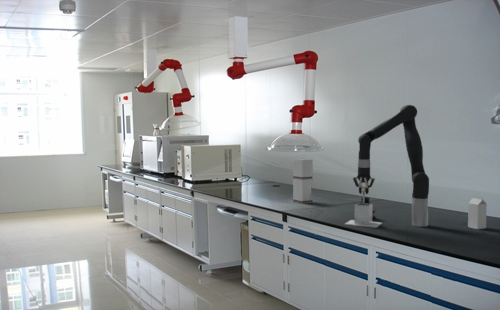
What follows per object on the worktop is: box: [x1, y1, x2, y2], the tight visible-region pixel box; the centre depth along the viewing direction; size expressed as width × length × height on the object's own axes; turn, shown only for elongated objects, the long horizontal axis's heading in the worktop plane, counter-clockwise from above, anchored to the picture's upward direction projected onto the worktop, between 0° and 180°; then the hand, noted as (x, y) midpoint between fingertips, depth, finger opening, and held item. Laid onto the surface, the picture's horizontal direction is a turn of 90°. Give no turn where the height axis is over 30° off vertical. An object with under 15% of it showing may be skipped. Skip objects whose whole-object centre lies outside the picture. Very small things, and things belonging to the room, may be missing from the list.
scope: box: [360, 196, 377, 220], centre depth 323 cm, size 8×14×10 cm
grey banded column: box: [292, 158, 314, 205], centre depth 390 cm, size 11×11×35 cm
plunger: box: [361, 185, 366, 205], centre depth 303 cm, size 7×7×17 cm
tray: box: [344, 219, 383, 229], centre depth 304 cm, size 20×14×1 cm
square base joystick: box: [353, 202, 373, 225], centre depth 304 cm, size 9×9×12 cm
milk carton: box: [467, 195, 487, 230], centre depth 291 cm, size 7×7×19 cm
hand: (363, 193), depth 303 cm, fingers closed on plunger, 3 cm apart
